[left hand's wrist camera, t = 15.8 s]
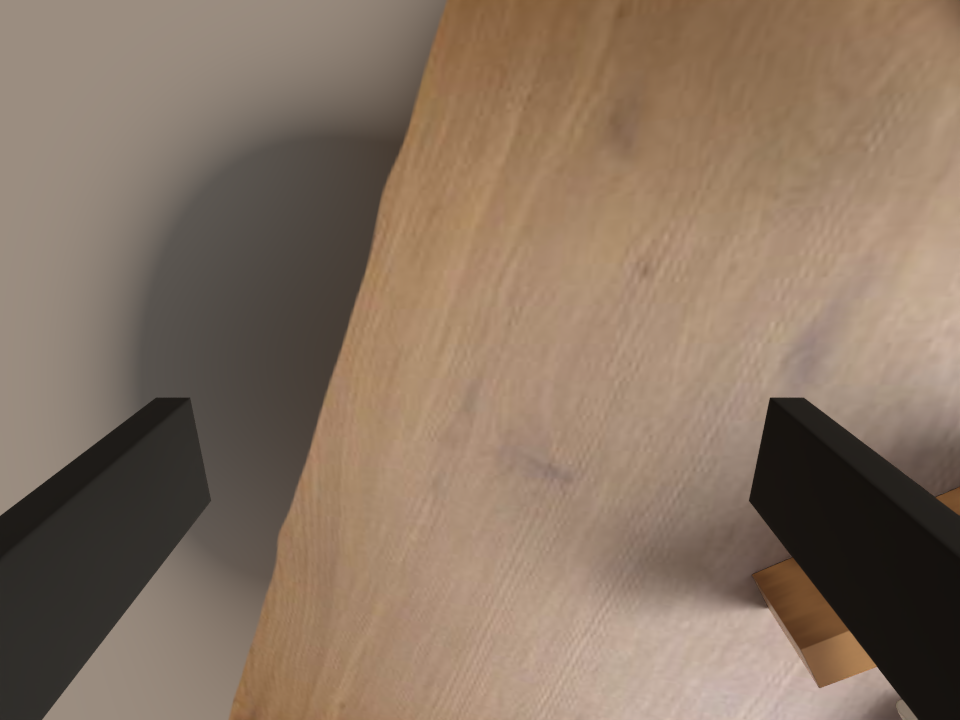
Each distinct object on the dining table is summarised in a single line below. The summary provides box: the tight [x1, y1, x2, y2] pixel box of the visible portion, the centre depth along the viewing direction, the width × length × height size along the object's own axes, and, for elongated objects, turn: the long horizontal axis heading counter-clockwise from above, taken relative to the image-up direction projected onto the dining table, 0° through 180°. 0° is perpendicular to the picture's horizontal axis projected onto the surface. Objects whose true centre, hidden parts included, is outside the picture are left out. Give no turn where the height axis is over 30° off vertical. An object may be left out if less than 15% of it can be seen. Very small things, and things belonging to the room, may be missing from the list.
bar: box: [752, 487, 960, 688], centre depth 47 cm, size 28×5×9 cm, turn 120°
